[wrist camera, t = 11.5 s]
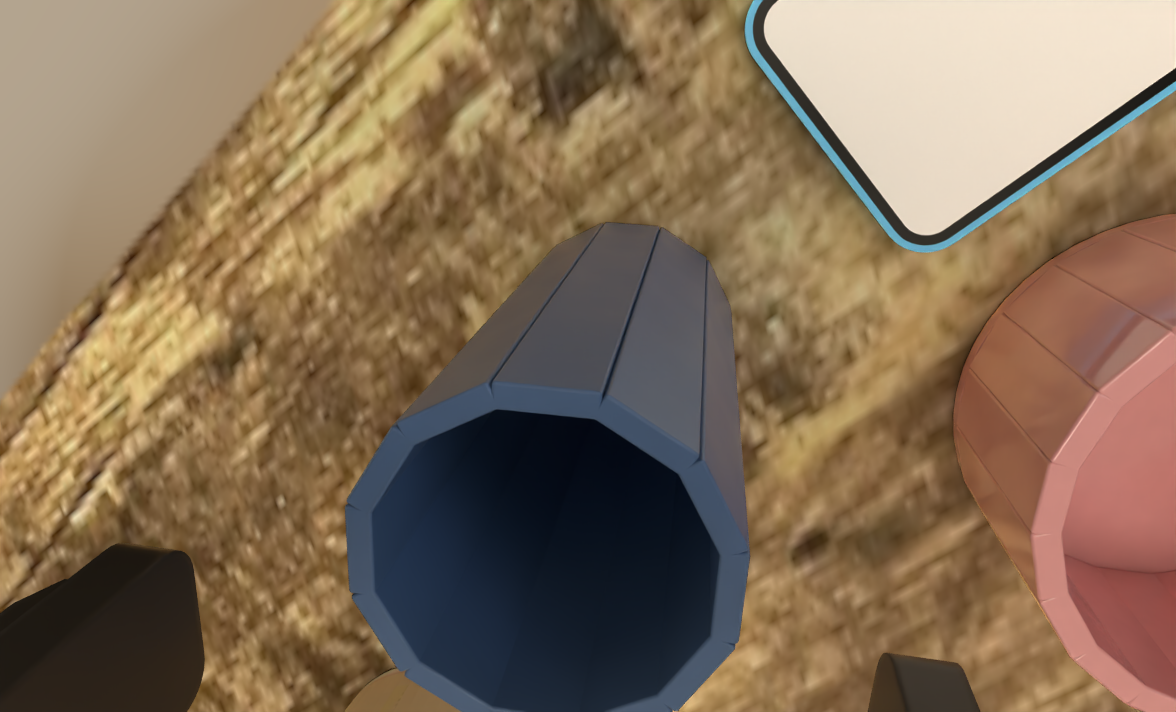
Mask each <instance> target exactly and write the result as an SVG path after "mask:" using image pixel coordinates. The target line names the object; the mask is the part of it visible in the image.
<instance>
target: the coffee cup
mask: <svg viewBox="0 0 1176 712" xmlns="http://www.w3.org/2000/svg"><path fill="white" fill-rule="evenodd" d="M405 671H406V670H405ZM405 671H402V672H400V671H399V670H398V668H396V669H393V670H390V671H388V672H385V673H384V674H382V675H380V676H379V677H377V678H375V679H374V680H373V681H371V682H370V683H369V684H367V685H366V686H365V687H364V688H363V689H362V690H361V691H360V692H359V693H358V695H357V696H356V697H355V698H354V699H353V701H352V702H351V703H350V705H349V706H348V707H347V709H346V710H345V711H344V712H461V711H459V710H458V709H456V708H454V707H453V706H451V705H450V704H448V703H446V702H445V701H443V700H442V699H440V698H438V697H437V696H435V695H434V694H432V693H430V692H429V691H427V690H425V689H424V688H422V687H421V686H419V685H417V684H416V683H414V682H413V681H411V680H409V679H408V678H406V677H405V676H404V675H405Z"/></svg>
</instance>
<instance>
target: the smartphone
mask: <svg viewBox="0 0 1176 712" xmlns="http://www.w3.org/2000/svg"><path fill="white" fill-rule="evenodd" d="M745 40H746V44H747V48H748V50H749V52H750V54H751V56H752V57H753V59H754V60H755V61H756V63H757V64H758V65H759V67H760V68H761V69H762V71H763V72H764V73H765V75H766V76H767V77H768V79H769V80H770V81H771V82H772V84H773V85H774V86H775V88H776V89H777V90H778V92H779V93H780V94H781V96H782V97H783V98H784V100H785V101H786V102H787V103H788V105H789V106H790V107H791V109H792V110H793V111H794V113H795V114H796V115H797V117H798V118H799V119H800V121H801V122H802V123H803V124H804V126H805V127H806V128H807V130H808V131H809V132H810V134H811V135H812V136H813V138H814V139H815V140H816V142H817V143H818V144H819V145H820V147H821V148H822V149H823V151H824V152H825V153H826V155H827V156H828V157H829V159H830V160H831V161H832V163H833V164H834V165H835V166H836V168H837V169H838V171H839V172H840V173H841V174H842V176H843V177H844V178H845V180H846V181H847V182H848V184H849V185H850V186H851V187H852V189H853V190H854V191H855V193H856V194H857V195H858V197H859V198H860V199H861V201H862V202H863V203H864V205H865V206H866V207H867V208H868V210H869V211H870V212H871V214H872V215H873V216H874V218H875V219H876V220H877V222H878V223H879V224H880V226H881V227H882V228H883V229H884V231H885V232H886V233H887V234H888V235H889V236H890V237H891V238H892V240H893V241H895V242H896V243H897V244H898V245H900V246H902V247H903V248H906V249H908V250H911V251H915V252H934V251H938V250H942V249H944V248H947V247H949V246H950V245H952V244H954V243H955V242H957V241H958V240H960V239H961V238H963V237H964V236H966V235H967V234H968V233H970V232H971V231H973V230H974V229H976V228H977V227H979V226H980V225H981V224H983V223H984V222H986V221H987V220H989V219H990V218H992V217H993V216H995V215H996V214H997V213H999V212H1000V211H1002V210H1003V209H1005V208H1006V207H1008V206H1009V205H1010V204H1012V203H1013V202H1015V201H1016V200H1018V199H1019V198H1021V197H1022V196H1024V195H1025V194H1026V193H1028V192H1029V191H1031V190H1032V189H1034V188H1035V187H1037V186H1038V185H1039V184H1041V183H1042V182H1044V181H1045V180H1047V179H1048V178H1050V177H1051V176H1052V175H1054V174H1055V173H1057V172H1058V171H1060V170H1061V169H1063V168H1064V167H1066V166H1067V165H1068V164H1070V163H1071V162H1073V161H1074V160H1076V159H1077V158H1079V157H1080V156H1081V155H1083V154H1084V153H1086V152H1087V151H1089V150H1090V149H1092V148H1093V147H1094V146H1096V145H1097V144H1099V143H1100V142H1102V141H1103V140H1105V139H1106V138H1108V137H1109V136H1110V135H1112V134H1113V133H1115V132H1116V131H1118V130H1119V129H1121V128H1122V127H1123V126H1125V125H1126V124H1128V123H1129V122H1131V121H1132V120H1134V119H1135V118H1136V117H1138V116H1139V115H1141V114H1142V113H1144V112H1145V111H1147V110H1148V109H1150V108H1151V107H1152V106H1154V105H1155V104H1157V103H1158V102H1160V101H1161V100H1163V99H1164V98H1165V97H1167V96H1168V95H1170V94H1171V93H1173V92H1174V91H1176V0H754V1H753V2H752V4H751V6H750V8H749V11H748V13H747V17H746V21H745Z"/></svg>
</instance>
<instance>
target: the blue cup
mask: <svg viewBox="0 0 1176 712" xmlns="http://www.w3.org/2000/svg"><path fill="white" fill-rule="evenodd" d="M347 502H348V504H347V505H346V506H345V518H346V536H347V555H348V573H349V590H350V592H351V593H354V594H353V595H352V599H353V601H354V602H355V604H356V605H357V607H358V608H359V610H360V612H361V613H362V615H363V616H364V618H365V619H366V621H367V622H368V624H369V625H370V627H371V628H372V630H373V632H374V633H375V635H376V636H377V638H378V639H379V641H380V642H381V644H382V645H383V647H384V648H385V650H386V652H387V653H388V655H389V656H390V658H391V659H392V661H393V662H394V664H395V665H396V667H397V668H398V670H399V671H400V672H402V671H405V670H406V671H405V675H404V676H405V677H406V678H408V679H409V680H411V681H413V682H414V683H416V684H417V685H419V686H421V687H422V688H424V689H425V690H427V691H429V692H430V693H432V694H434V695H435V696H437V697H438V698H440V699H442V700H443V701H445V702H446V703H448V704H450V705H451V706H453V707H454V708H456V709H458V710H459V711H461V712H672V711H673V710H674V711H678V710H679V709H680V708H681V707H682V706H683V705H684V703H685V702H686V701H687V700H688V699H689V698H690V697H691V696H692V695H693V694H694V693H695V692H696V691H697V689H698V688H699V687H700V686H701V685H702V684H703V683H704V682H705V681H706V680H707V679H708V678H709V676H710V675H711V674H712V673H713V672H714V671H715V670H716V669H717V668H718V667H719V666H720V665H721V664H722V662H723V661H724V660H725V659H726V658H727V657H728V656H729V655H730V654H731V653H732V652H733V651H734V649H735V644H736V643H738V641H739V636H740V628H741V621H742V613H743V606H744V598H745V591H746V583H747V576H748V568H749V561H750V549H749V536H748V523H747V510H746V497H745V484H744V471H743V458H742V445H741V432H740V419H739V406H738V393H737V380H736V367H735V354H734V341H733V328H732V315H731V309H730V304H729V302H728V300H727V298H726V296H725V294H724V291H723V289H722V287H721V285H720V283H719V281H718V279H717V277H716V274H715V272H714V270H713V268H712V266H711V264H710V262H709V261H708V260H706V257H705V256H704V255H702V254H701V253H699V252H698V251H696V250H695V249H693V248H692V247H690V246H689V245H687V244H686V243H685V242H683V241H682V240H680V239H679V238H677V237H676V236H674V235H673V234H671V233H670V232H668V231H667V230H665V229H664V228H661V229H660V230H659V227H658V226H650V225H636V224H623V223H610V222H606V223H605V224H603V223H601V224H599V225H597V226H595V227H593V228H591V229H589V230H587V231H585V232H582V233H580V234H578V235H576V236H574V237H572V238H570V239H568V240H566V241H564V242H562V243H560V244H558V245H556V247H555V248H553V249H552V250H551V251H550V252H549V253H548V254H547V256H546V257H545V258H544V259H543V260H542V261H541V262H540V263H539V264H538V266H537V267H536V268H535V269H534V270H533V271H532V272H531V273H530V274H529V275H528V277H527V278H526V279H525V280H524V281H523V282H522V283H521V284H520V285H519V286H518V288H517V289H516V290H515V291H514V292H513V293H512V294H511V295H510V296H509V298H508V299H507V300H506V301H505V302H504V303H503V304H502V305H501V306H500V307H499V309H498V310H497V311H496V312H495V313H494V314H493V315H492V316H491V317H490V318H489V320H488V321H487V322H486V323H485V324H484V325H483V326H482V327H481V328H480V330H479V331H478V332H477V333H476V334H475V335H474V336H473V337H472V338H471V339H470V341H469V342H468V343H467V344H466V345H465V346H464V347H463V348H462V349H461V350H460V352H459V353H458V354H457V355H456V356H455V357H454V358H453V359H452V360H451V362H450V363H449V364H448V365H447V366H446V367H445V368H444V369H443V370H442V371H441V373H440V374H439V375H438V376H437V377H436V378H435V379H434V380H433V381H432V383H431V384H430V385H429V386H428V387H427V388H426V389H425V390H424V391H423V392H422V394H421V395H420V396H419V397H418V398H417V399H416V400H415V401H414V402H413V403H412V405H411V406H410V407H409V408H408V409H407V410H406V411H405V412H404V413H403V415H402V416H401V417H400V418H399V419H398V420H397V421H396V422H395V423H394V424H393V426H392V427H391V428H390V430H389V431H388V433H387V435H386V436H385V438H384V439H383V441H382V443H381V444H380V446H379V448H378V449H377V451H376V452H375V454H374V456H373V457H372V459H371V461H370V462H369V464H368V465H367V467H366V469H365V470H364V472H363V474H362V475H361V477H360V478H359V480H358V482H357V483H356V485H355V487H354V488H353V490H352V491H351V493H350V495H349V496H348V498H347Z"/></svg>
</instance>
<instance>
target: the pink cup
mask: <svg viewBox="0 0 1176 712" xmlns="http://www.w3.org/2000/svg"><path fill="white" fill-rule="evenodd" d="M953 429H954V442H955V448H956V454H957V460H958V463H959V466H960V469H961V472H962V475H963V478H964V480H965V483H966V485H967V487H968V489H969V490H970V492H971V494H972V496H973V498H974V500H975V501H976V503H977V505H978V506H979V508H980V510H981V512H982V513H983V515H984V517H985V519H986V520H987V522H988V524H989V526H990V527H991V529H992V530H993V532H994V534H995V535H996V537H997V539H998V540H999V542H1000V544H1001V545H1002V547H1003V549H1004V550H1005V552H1006V553H1007V555H1008V557H1009V558H1010V560H1011V562H1012V563H1013V565H1014V567H1015V568H1016V570H1017V571H1018V573H1019V575H1020V576H1021V578H1022V580H1023V581H1024V583H1025V585H1026V586H1027V588H1028V589H1029V591H1030V593H1031V594H1032V596H1033V598H1034V599H1035V601H1036V603H1037V604H1038V606H1039V608H1040V609H1041V611H1042V612H1043V614H1044V616H1045V617H1046V619H1047V621H1048V622H1049V624H1050V626H1051V627H1052V629H1053V630H1054V632H1055V634H1056V635H1057V637H1058V639H1059V640H1060V642H1061V644H1062V645H1063V647H1064V648H1065V650H1066V652H1067V653H1068V655H1069V657H1070V658H1072V660H1073V661H1074V662H1075V663H1076V664H1078V665H1079V666H1080V667H1081V668H1082V669H1084V670H1085V671H1086V672H1087V673H1088V674H1090V675H1091V676H1092V677H1093V678H1094V679H1096V680H1097V681H1098V682H1099V683H1100V684H1102V685H1103V686H1104V687H1105V688H1106V689H1108V690H1109V691H1110V692H1111V693H1112V694H1114V695H1115V696H1116V697H1117V698H1118V699H1120V700H1121V701H1122V702H1124V703H1126V704H1127V705H1129V706H1131V707H1133V708H1135V709H1138V710H1140V711H1143V712H1176V214H1169V215H1161V216H1157V217H1152V218H1148V219H1143V220H1139V221H1135V222H1131V223H1128V224H1125V225H1122V226H1119V227H1116V228H1113V229H1110V230H1107V231H1105V232H1102V233H1100V234H1098V235H1095V236H1093V237H1091V238H1089V239H1087V240H1085V241H1083V242H1081V243H1079V244H1076V245H1074V246H1073V247H1071V248H1069V249H1068V250H1066V251H1065V252H1063V253H1061V254H1060V255H1058V256H1056V257H1055V258H1053V259H1052V260H1050V261H1048V262H1047V263H1046V264H1044V265H1043V266H1042V267H1041V268H1039V269H1038V270H1037V271H1036V272H1034V273H1033V274H1032V275H1030V276H1029V277H1028V278H1027V279H1025V280H1024V281H1023V282H1022V283H1021V284H1020V285H1019V286H1018V287H1017V288H1016V289H1015V290H1014V291H1013V292H1012V293H1011V294H1010V295H1009V296H1008V297H1007V298H1006V299H1005V300H1004V301H1003V303H1002V304H1001V305H1000V306H999V308H998V309H997V310H996V311H995V313H994V314H993V315H992V316H991V318H990V319H989V320H988V321H987V323H986V325H985V326H984V328H983V330H982V331H981V333H980V334H979V336H978V338H977V339H976V341H975V343H974V344H973V347H972V349H971V351H970V353H969V356H968V358H967V360H966V362H965V365H964V367H963V370H962V374H961V377H960V381H959V384H958V387H957V391H956V399H955V406H954V413H953Z"/></svg>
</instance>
